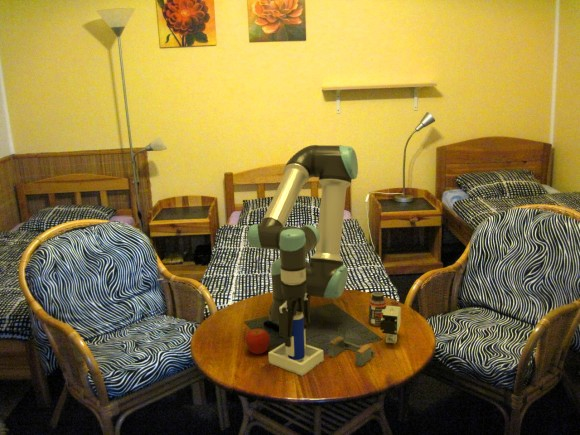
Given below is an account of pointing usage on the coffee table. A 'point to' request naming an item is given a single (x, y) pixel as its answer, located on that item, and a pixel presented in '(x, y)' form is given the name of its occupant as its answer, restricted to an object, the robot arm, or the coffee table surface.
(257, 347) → the apple
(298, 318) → the beverage can
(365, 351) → the fuse holder
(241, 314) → the coffee table surface
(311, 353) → the tray
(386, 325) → the pneumatic valve
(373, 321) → the supplement bottle
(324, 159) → the robot arm
